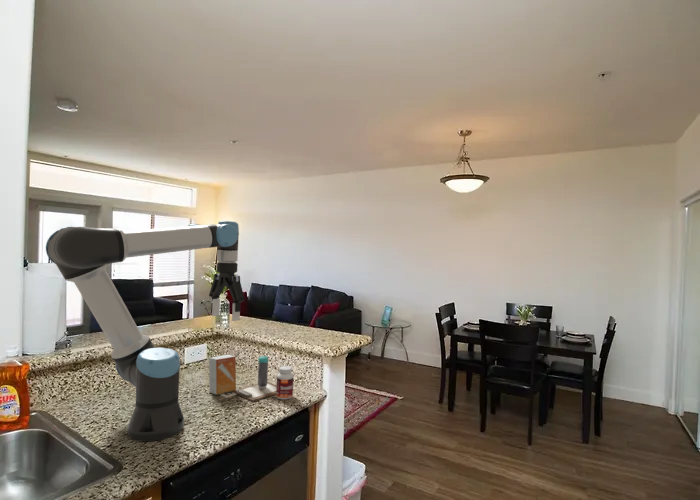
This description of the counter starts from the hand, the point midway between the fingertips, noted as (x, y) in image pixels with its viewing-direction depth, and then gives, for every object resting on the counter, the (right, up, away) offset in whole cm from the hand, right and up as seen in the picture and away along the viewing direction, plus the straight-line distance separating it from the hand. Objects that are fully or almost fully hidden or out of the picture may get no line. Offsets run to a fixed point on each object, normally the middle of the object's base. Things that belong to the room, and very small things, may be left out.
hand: (225, 318), depth 149 cm
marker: (+13, -28, +5) cm, 32 cm away
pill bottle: (+23, -30, -1) cm, 37 cm away
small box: (-1, -29, +1) cm, 29 cm away
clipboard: (+12, -29, +3) cm, 32 cm away
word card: (+2, -29, 0) cm, 29 cm away
